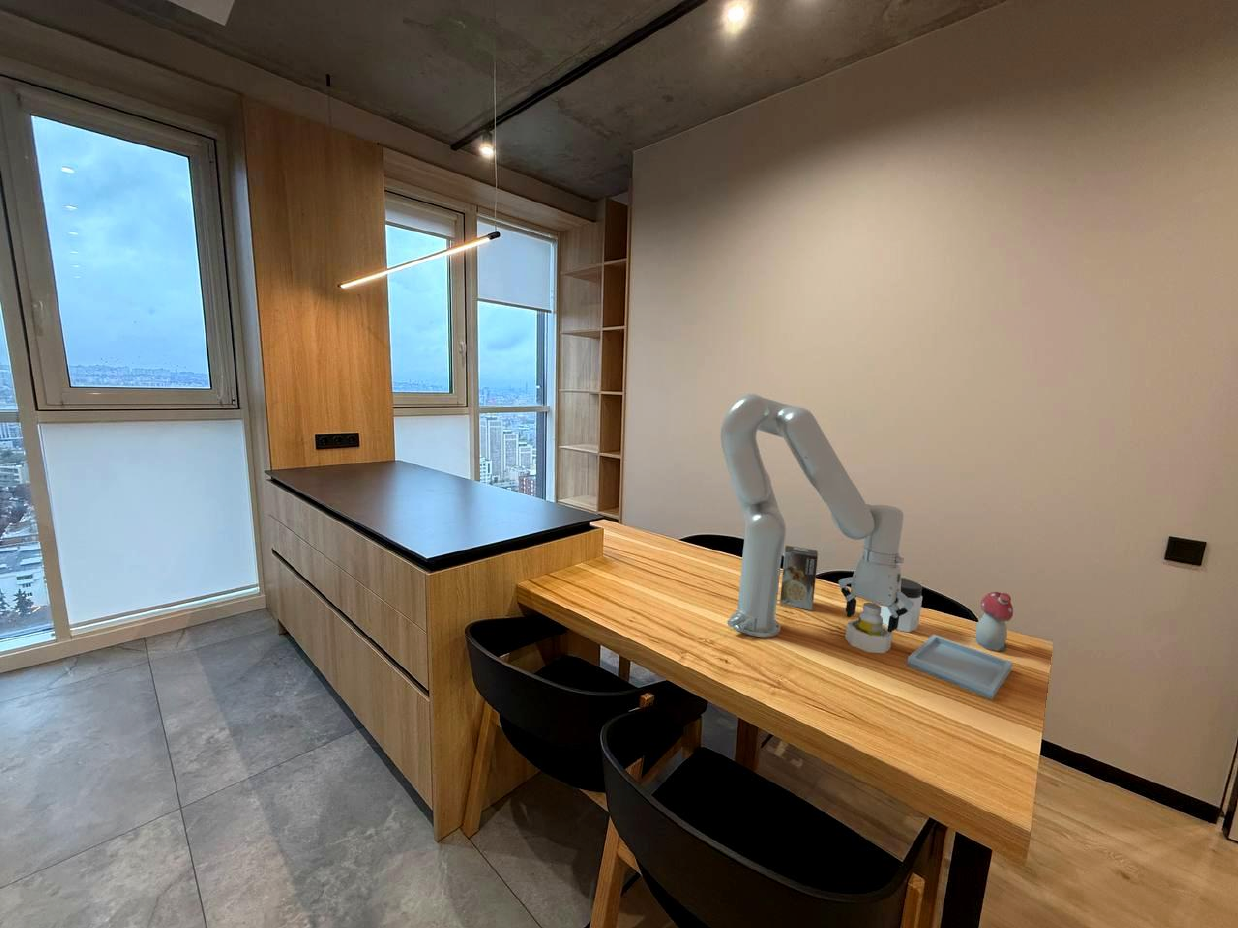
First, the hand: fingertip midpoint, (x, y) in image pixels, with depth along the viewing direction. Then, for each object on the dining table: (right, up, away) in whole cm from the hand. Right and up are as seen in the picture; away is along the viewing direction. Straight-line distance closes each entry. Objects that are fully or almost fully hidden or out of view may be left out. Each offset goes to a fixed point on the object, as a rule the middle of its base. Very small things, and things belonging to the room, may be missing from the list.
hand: (870, 622), depth 121 cm
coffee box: (-10, -2, +22) cm, 25 cm away
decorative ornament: (+32, -7, +3) cm, 33 cm away
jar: (+14, -5, +12) cm, 19 cm away
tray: (+16, -8, -8) cm, 20 cm away
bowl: (0, -5, +1) cm, 5 cm away
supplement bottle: (0, -6, +1) cm, 6 cm away
